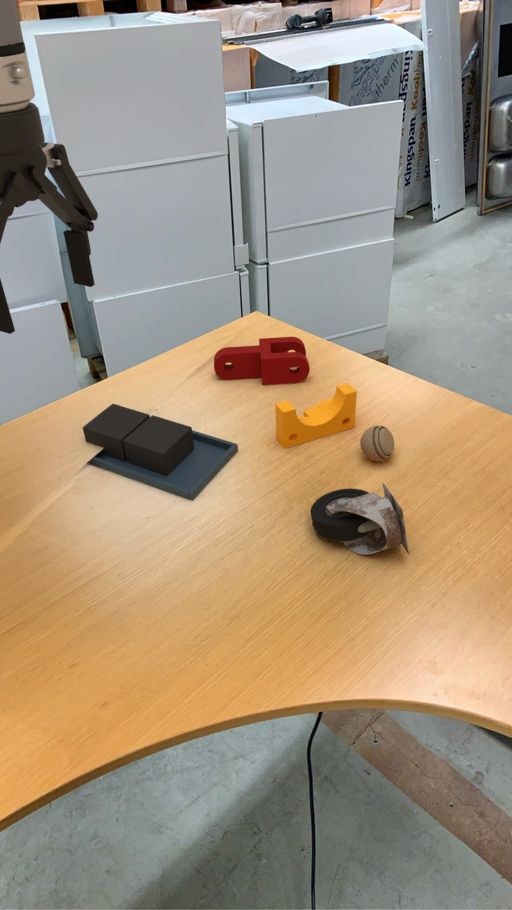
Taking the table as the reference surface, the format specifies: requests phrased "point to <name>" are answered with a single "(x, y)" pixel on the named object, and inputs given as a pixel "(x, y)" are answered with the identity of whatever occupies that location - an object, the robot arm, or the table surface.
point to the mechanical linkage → (264, 361)
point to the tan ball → (377, 443)
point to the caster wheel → (360, 520)
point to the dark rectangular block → (159, 445)
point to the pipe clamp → (316, 418)
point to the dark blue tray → (179, 467)
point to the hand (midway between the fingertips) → (46, 306)
